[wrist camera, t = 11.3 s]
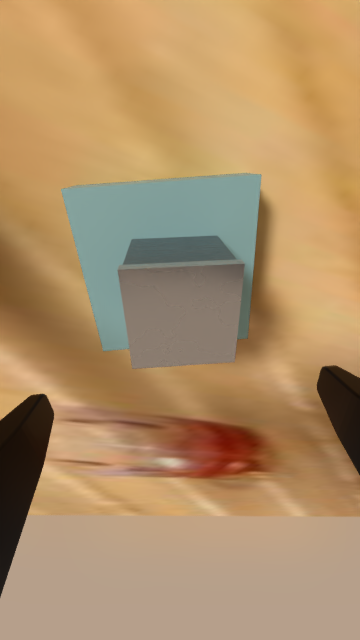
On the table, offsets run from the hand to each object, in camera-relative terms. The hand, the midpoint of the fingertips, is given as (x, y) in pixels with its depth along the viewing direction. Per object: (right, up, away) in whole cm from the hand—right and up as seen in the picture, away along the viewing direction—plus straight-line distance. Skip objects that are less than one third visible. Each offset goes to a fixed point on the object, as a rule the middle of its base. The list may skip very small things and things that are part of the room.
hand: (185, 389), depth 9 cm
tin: (0, +5, +9) cm, 10 cm away
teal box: (-1, +7, +12) cm, 14 cm away
